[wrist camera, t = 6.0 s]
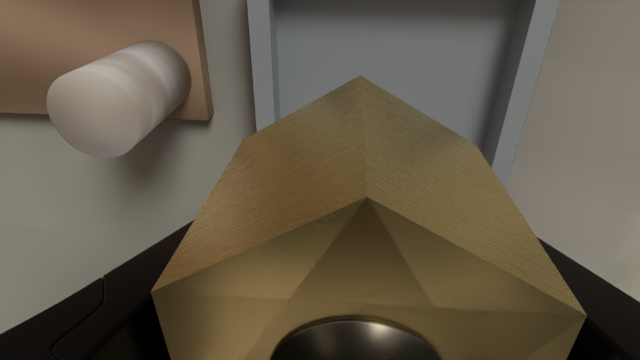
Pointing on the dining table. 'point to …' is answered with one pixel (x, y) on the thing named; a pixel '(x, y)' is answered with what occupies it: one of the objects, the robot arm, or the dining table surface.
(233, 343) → the nut
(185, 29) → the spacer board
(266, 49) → the tray
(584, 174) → the dining table surface
